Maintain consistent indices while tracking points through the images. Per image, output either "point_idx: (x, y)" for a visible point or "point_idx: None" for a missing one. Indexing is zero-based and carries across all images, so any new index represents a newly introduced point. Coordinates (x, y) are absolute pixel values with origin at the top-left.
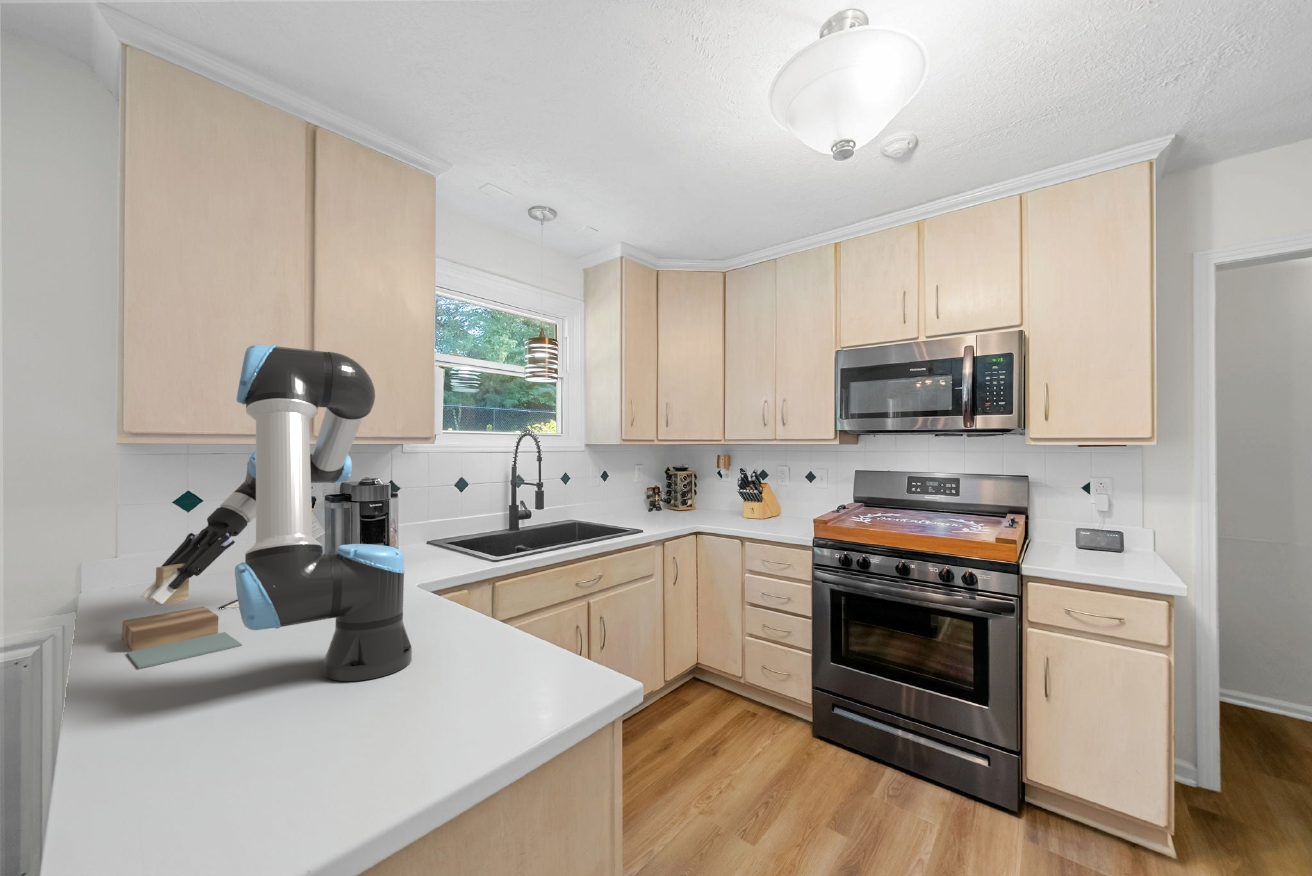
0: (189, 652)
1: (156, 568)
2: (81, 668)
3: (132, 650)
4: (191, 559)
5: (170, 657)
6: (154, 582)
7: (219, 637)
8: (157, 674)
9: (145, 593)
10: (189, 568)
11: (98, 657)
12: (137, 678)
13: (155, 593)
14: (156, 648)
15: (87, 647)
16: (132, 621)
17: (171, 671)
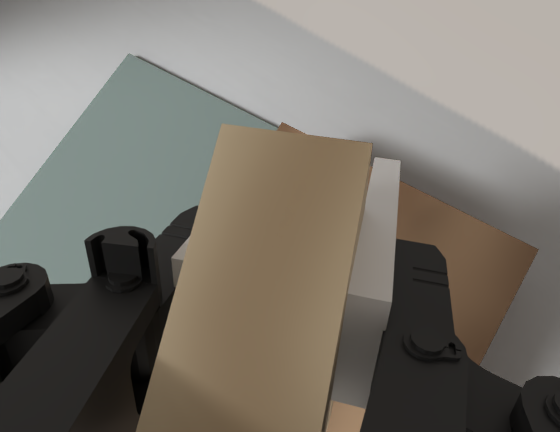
0: (76, 167)
1: (360, 145)
2: (301, 28)
3: None
4: (13, 414)
5: (101, 123)
6: (387, 214)
7: None
8: (54, 44)
9: (373, 168)
10: (15, 273)
11: (354, 98)
12: (82, 17)
13: None
14: None
15: (524, 163)
16: (464, 244)
17: (34, 65)
